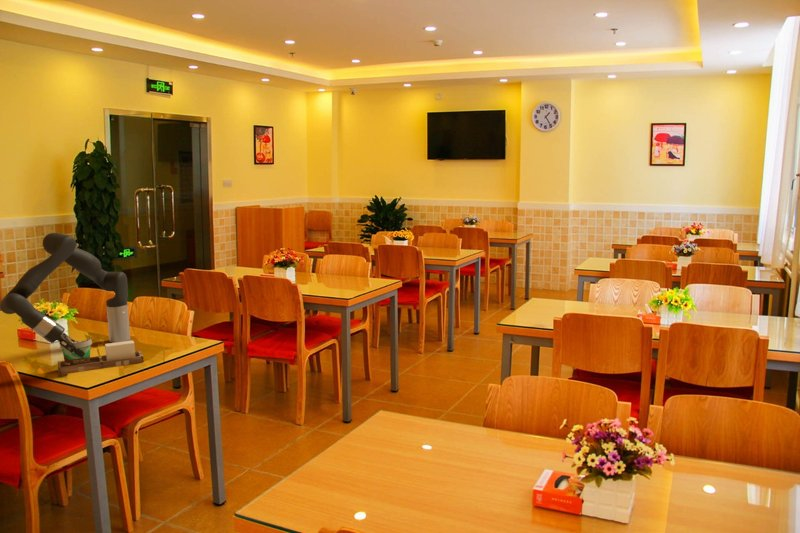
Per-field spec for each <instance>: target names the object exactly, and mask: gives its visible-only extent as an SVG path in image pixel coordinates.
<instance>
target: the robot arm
mask: <svg viewBox="0 0 800 533" xmlns="http://www.w3.org/2000/svg"><path fill="white" fill-rule="evenodd" d="M42 246H43V249H44V251H45V252H46V253H48V254H49V255H50V256H49V257H48V258H46V259H45V260H42V261H41V262H39V263H37V264H35V265H34V266H33V267H31V268H29V269H28V270H27V271H26V272H25V273H24V274H23V275H22V276H21V277H20V279H19V280H18V281H17V283H16V284H15V285H14V287H13V288H12V289H11V290H10V291H9V292H8V293H7V294H6V295H5V296H4V297H3V298H2V299H1V301H0V310H1V312H2V313H4V314H6V315H13V314H16V315H17V316H18V317H19V318H21V322H22V323H23V324H24V325H25V326H27V327H29V329H31V330H33V331H34V332H35V334H37V335H38V336H40V337H41V338H43V339H44V340H45V341H47V342H49V343H50V344H54V343H55V342H56V341H58V343H59V345H61V346H63V347H64V348H66V349H67V350H69V351H70V352H71V353H75V354H77V355H78V356H80V357H81V358H82V357H83V356H84V355H85V353H84V352H83V351H81V350H80V349H79V348H77V346H75V345H74V342H75V341H76V340H75V339H74V338H72V337H70V336H69V335H68V334H66V333H65V330H66V329H65V327H64V326H62V325H61V324H59V323H58V322H57V321H55V320H54V319H53V318H50V317H49V316H47V315H46V314H44V313H43V312H41V311H40V310H38V309H37V308H35V307H34V305H33V304H32V303H31V302H30V301H29V300H28V298H29V297H30V296H32V295H33V294H34V293H35V292H36V291H37V289H38V288H39V287H40V286H41V285H42V283H43V282H44V281H45V279H47V277H48V276H49V275H51V274H52V273H53V272H54V271H55V270H56V269H58V268H59V267H60V266H61V265H62V264H63V263H64V262H65V263H66V264H67V265H68V266H70V267H72V268H73V269H74V270H76V271H78V273H80V274H82V275H84V276H85V277H87V278H88V279H90V280H91V281H93V282H94V283H95V284H96V285H97V286H99V287H100V288H101V289H102V290H104V291H106V292H114V296H113V297H111V298H109V299H107V300H106V301H105V305H106V314H107V316H106V317H107V325H108V326H107V327H108V337H109V342H110V343H116V342H124V341H131V332H130V330H131V329H130V318H129V308H128V299H129V286H128V277H127V274H126V273H125V272H123V271H106V270H104V269H102V263H101V261H100V259H99V258H97V257H96V256H94V255H93V254H92V253H90V252H88V251H86V250H84V249H81V248H79V247H77V243H76V239H75V238H74V236H71V235H68V234H64V233H58V232H51V233H47V234H46V235H45V236H44V237H43V239H42ZM71 347H73V348H72V349H70V348H71Z"/></svg>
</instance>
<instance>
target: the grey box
mask: <svg viewBox="0 0 800 533" xmlns="http://www.w3.org/2000/svg"><path fill="white" fill-rule="evenodd" d="M104 346H105V347H104V348H105V355H106V360H107V361H108V360H115V359H123V358H130V357H136V356H135V351H136V347H135V346H136V345H135V342H134V340H129V341H124V342H116V343H112V342H110V343H108V342H107V343H104Z"/></svg>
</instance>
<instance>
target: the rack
mask: <svg viewBox="0 0 800 533" xmlns="http://www.w3.org/2000/svg"><path fill="white" fill-rule="evenodd" d="M141 351H142V350H135V356H136V357H130V358H123V359H115V360H108V361H107V360H106V354H105V355H99V356H98V355H97V356H90V363H86V364H79V365H72V366H65V361H64V360H60V361H57V372H58V377H66V376H69V375H68V374H70V373H77V372H85V371H91V370H98V369H105V368H113V367H120V366H127V365H132V364H133V365H134V364H140V363H144V362H145V361H144V355H143V353H142V352H141Z"/></svg>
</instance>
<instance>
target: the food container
mask: <svg viewBox="0 0 800 533" xmlns="http://www.w3.org/2000/svg"><path fill="white" fill-rule="evenodd" d="M59 345H60V344H59ZM74 345H75V346H77V348H79V349H80V350H81V351H83V352H84V353H85V355H84V356H83V357H82V358H81V357H80V356H78V355H77V354H75V353H71V352H70V351H69V350H67V349H66V348H64V347H63V346H61V345H60V346H59V347H60V349H62V355H63V359H64V360H63V361H65V366H72V365H79V364H86V363H90V357H91V345H93V341H92V339H91V337H88V339H87V340H85V339H84V340H75V342H74ZM72 348H73V347H71V348H70V349H72Z"/></svg>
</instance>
